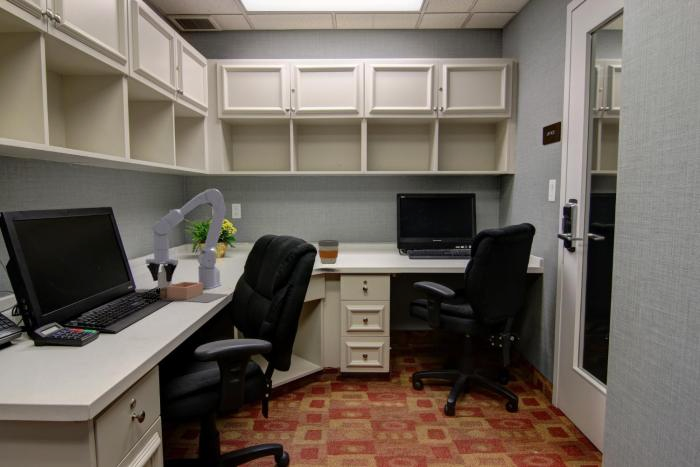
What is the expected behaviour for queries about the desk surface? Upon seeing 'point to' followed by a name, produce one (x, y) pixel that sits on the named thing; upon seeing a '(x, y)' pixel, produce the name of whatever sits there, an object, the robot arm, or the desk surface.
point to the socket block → (184, 290)
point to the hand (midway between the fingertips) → (162, 281)
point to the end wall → (163, 293)
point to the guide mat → (201, 298)
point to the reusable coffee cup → (328, 251)
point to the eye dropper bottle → (163, 278)
